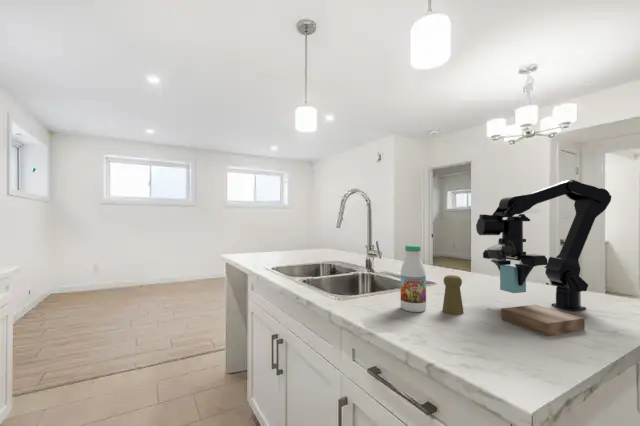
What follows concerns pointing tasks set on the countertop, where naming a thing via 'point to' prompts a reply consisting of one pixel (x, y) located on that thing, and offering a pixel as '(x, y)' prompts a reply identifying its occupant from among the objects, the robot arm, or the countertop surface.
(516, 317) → the wooden board
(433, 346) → the countertop surface
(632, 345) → the countertop surface
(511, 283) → the teal block
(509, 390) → the countertop surface
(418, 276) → the milk bottle
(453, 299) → the cork
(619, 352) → the countertop surface
